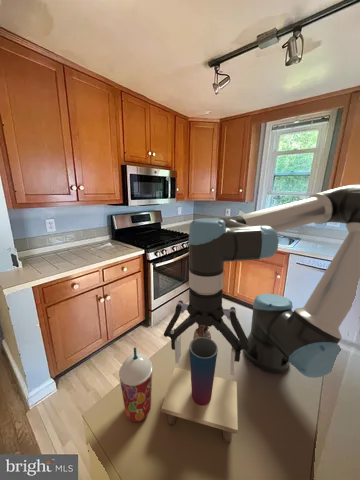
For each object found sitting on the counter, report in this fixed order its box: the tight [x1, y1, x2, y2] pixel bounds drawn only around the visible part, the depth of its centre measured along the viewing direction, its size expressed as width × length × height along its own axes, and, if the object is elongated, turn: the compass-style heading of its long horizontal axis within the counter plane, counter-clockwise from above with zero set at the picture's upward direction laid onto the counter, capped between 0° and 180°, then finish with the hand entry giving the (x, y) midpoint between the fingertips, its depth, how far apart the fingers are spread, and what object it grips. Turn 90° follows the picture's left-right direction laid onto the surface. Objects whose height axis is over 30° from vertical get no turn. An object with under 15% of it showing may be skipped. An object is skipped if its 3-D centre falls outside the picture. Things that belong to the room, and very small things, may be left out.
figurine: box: [192, 324, 212, 340], centre depth 74 cm, size 7×7×12 cm
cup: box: [189, 337, 219, 406], centre depth 50 cm, size 7×7×15 cm
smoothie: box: [118, 347, 153, 423], centre depth 51 cm, size 8×8×20 cm
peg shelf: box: [160, 367, 239, 443], centre depth 52 cm, size 18×12×6 cm, turn 76°
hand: (204, 364), depth 50 cm, fingers open, 13 cm apart
